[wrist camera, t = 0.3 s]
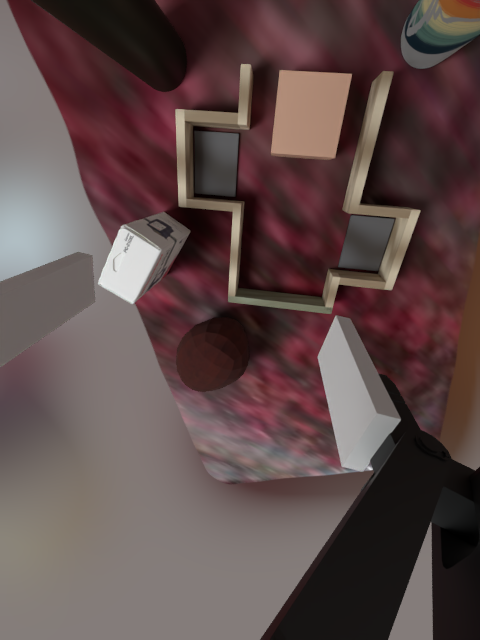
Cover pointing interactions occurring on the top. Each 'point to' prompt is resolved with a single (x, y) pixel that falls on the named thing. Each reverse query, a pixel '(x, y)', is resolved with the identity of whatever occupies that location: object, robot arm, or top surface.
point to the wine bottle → (128, 36)
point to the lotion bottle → (439, 30)
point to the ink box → (142, 255)
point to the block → (309, 114)
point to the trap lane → (363, 232)
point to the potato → (213, 354)
